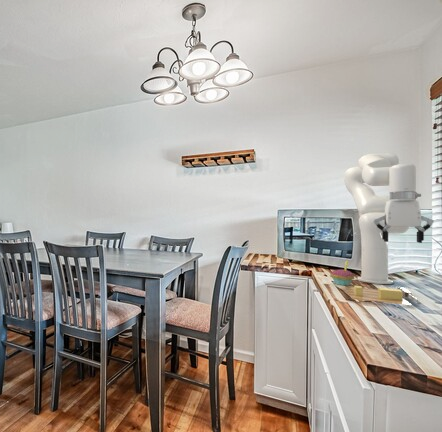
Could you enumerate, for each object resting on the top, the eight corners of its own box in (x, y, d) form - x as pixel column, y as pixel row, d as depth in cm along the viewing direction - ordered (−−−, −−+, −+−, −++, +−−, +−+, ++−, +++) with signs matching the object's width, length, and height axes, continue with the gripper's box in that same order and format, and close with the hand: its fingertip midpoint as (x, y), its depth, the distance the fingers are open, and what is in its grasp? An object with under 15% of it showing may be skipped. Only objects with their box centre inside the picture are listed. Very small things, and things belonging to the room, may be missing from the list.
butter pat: (354, 293, 120) (354, 285, 120) (360, 293, 119) (360, 285, 119) (355, 295, 117) (355, 287, 117) (362, 296, 116) (362, 288, 116)
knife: (397, 293, 124) (397, 286, 124) (403, 293, 123) (403, 287, 123) (413, 306, 106) (413, 298, 106) (421, 307, 105) (421, 299, 105)
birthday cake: (350, 284, 139) (350, 257, 139) (357, 289, 131) (357, 260, 131) (327, 283, 142) (327, 256, 142) (333, 287, 134) (333, 259, 134)
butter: (378, 295, 117) (378, 287, 117) (399, 297, 114) (399, 289, 114) (380, 298, 113) (380, 289, 113) (402, 300, 110) (402, 291, 110)
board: (343, 288, 131) (343, 286, 131) (394, 293, 124) (394, 290, 124) (351, 301, 112) (352, 298, 112) (412, 307, 104) (412, 304, 104)
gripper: (429, 196, 120) (429, 242, 120) (371, 198, 128) (371, 240, 128) (437, 195, 113) (437, 243, 113) (375, 197, 122) (375, 241, 122)
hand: (402, 242), depth 121 cm, fingers open, 9 cm apart
